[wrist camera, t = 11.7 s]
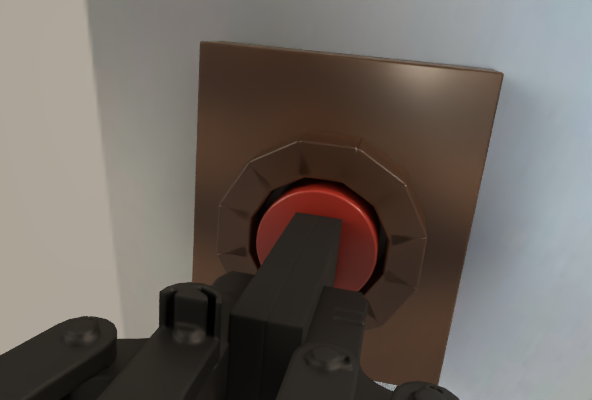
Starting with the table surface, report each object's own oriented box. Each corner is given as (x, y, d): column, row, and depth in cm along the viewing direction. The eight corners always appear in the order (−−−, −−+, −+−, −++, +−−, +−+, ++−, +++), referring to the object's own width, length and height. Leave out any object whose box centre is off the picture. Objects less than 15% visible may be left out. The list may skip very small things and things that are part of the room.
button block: (220, 41, 20) (177, 41, 16) (493, 69, 18) (515, 76, 14) (208, 317, 24) (171, 369, 20) (433, 360, 22) (439, 426, 18)
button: (273, 168, 18) (259, 181, 17) (387, 185, 17) (386, 200, 16) (264, 271, 19) (251, 293, 18) (371, 290, 19) (368, 314, 17)
